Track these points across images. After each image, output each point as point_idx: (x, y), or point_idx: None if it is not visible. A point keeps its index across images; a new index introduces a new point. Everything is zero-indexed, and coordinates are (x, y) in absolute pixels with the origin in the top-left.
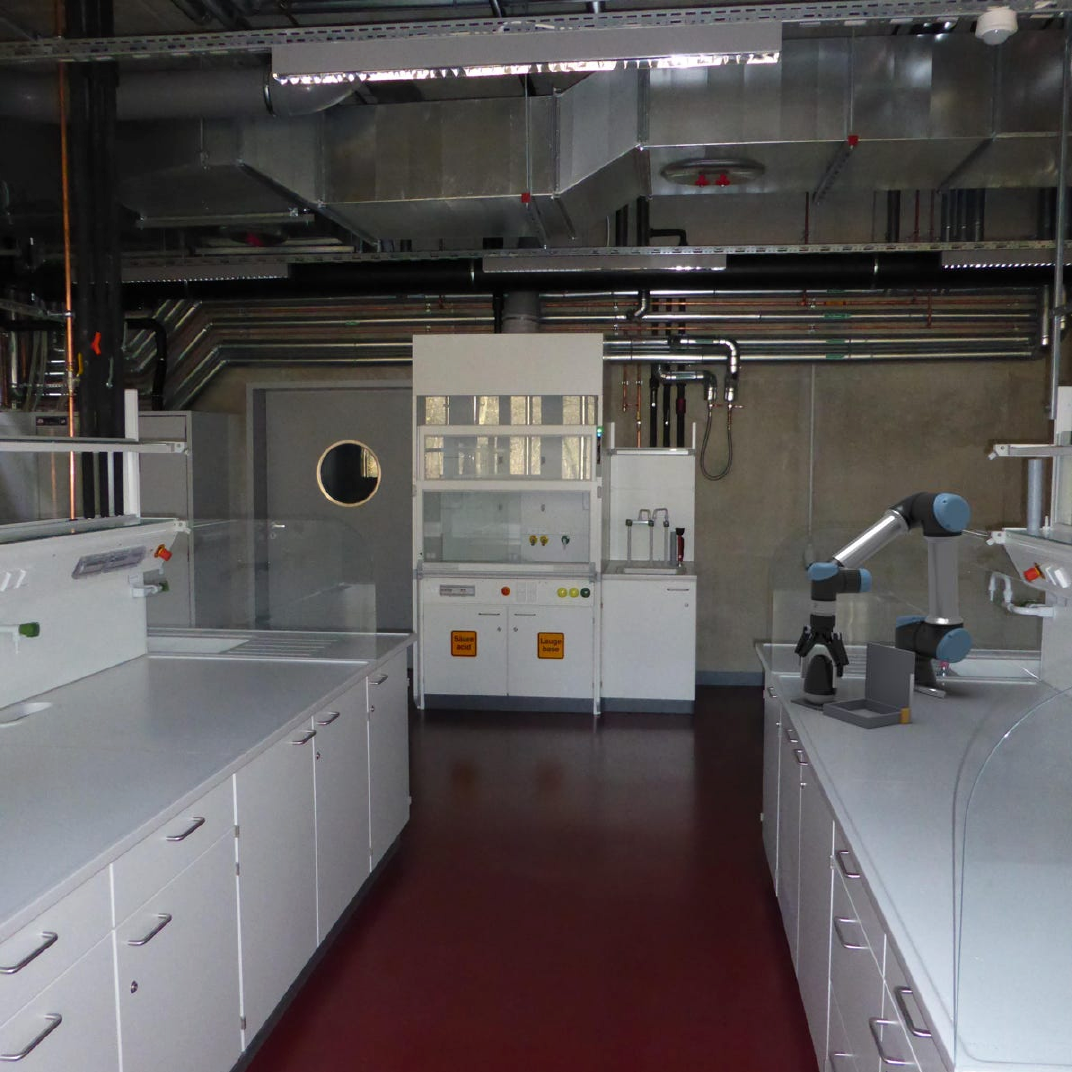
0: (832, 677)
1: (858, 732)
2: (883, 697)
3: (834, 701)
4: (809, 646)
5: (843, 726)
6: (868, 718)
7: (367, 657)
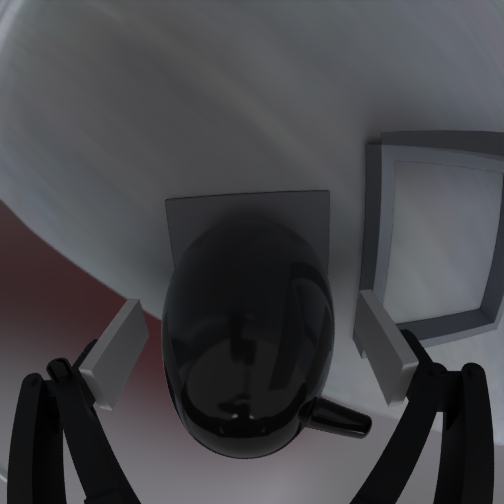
0: (334, 329)
1: (477, 347)
2: (475, 155)
3: (261, 203)
4: (125, 480)
5: (443, 352)
6: (496, 327)
7: (7, 470)
